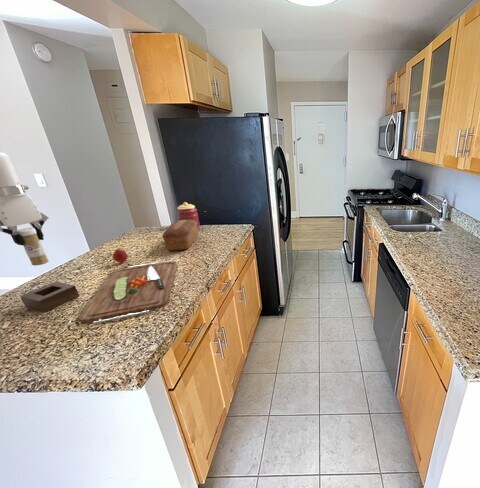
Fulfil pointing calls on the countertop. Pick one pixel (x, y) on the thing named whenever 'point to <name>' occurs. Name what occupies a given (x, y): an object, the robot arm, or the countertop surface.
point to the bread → (180, 235)
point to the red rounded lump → (120, 255)
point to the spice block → (49, 296)
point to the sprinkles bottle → (33, 246)
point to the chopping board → (131, 292)
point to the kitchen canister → (188, 212)
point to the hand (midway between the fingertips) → (30, 241)
